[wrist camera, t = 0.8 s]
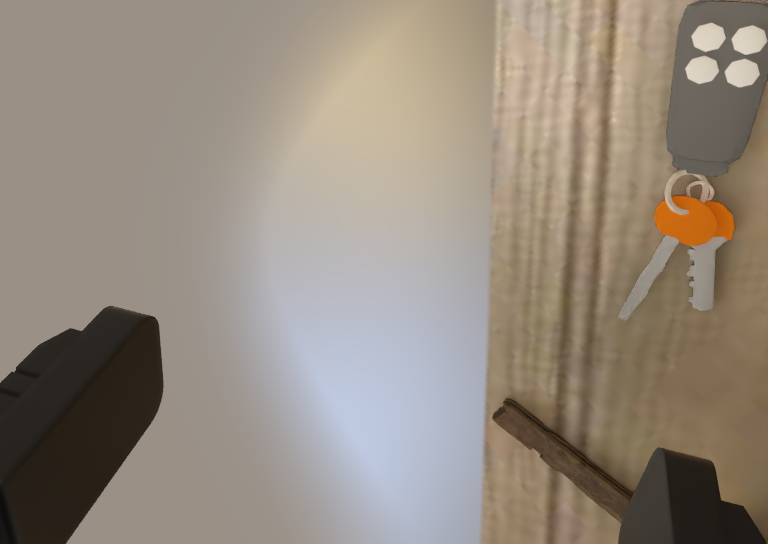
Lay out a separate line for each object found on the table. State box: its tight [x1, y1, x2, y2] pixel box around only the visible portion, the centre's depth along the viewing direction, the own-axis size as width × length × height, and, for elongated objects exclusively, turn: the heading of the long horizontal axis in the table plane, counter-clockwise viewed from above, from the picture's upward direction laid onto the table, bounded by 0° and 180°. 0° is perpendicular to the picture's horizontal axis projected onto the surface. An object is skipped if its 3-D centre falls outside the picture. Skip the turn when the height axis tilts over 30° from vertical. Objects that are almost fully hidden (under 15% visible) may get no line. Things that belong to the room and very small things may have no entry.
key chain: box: [618, 0, 768, 321], centre depth 29 cm, size 13×4×2 cm, turn 175°
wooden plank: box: [492, 399, 633, 523], centre depth 34 cm, size 13×1×1 cm, turn 57°
